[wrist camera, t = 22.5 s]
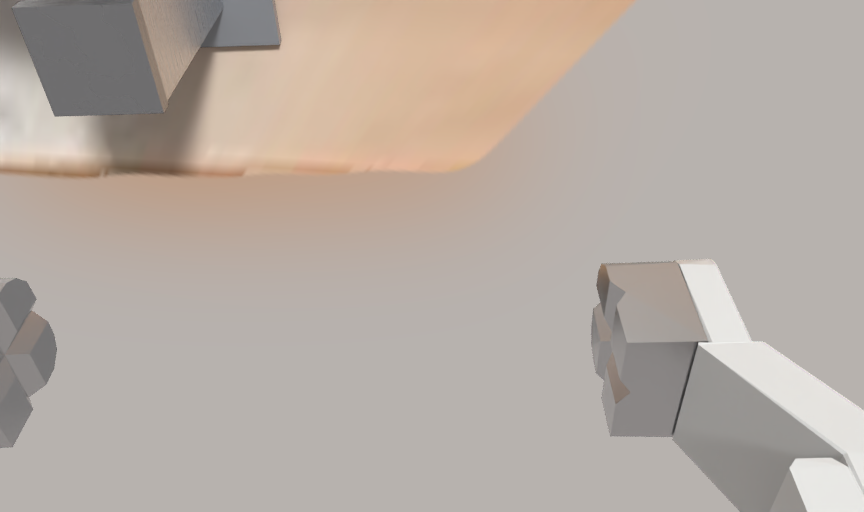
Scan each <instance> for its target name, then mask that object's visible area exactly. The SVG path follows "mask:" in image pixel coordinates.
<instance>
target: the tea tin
mask: <svg viewBox="0 0 864 512" xmlns="http://www.w3.org/2000/svg"><path fill="white" fill-rule="evenodd" d="M223 8H224V6H223V2H222V0H26V1H19V2H18V3H17V4H15V5H14V6H13V7H12V10H13V13H14V15H15V18H16V20H17V23H18V25H19V28H20V30H21V33H22V35H23V38H24V40H25V43H26V45H27V48H28V50H29V53H30V55H31V58H32V60H33V63H34V66H35V68H36V71H37V73H38V76H39V78H40V81H41V83H42V86H43V88H44V91H45V93H46V96H47V98H48V101H49V103H50V106H51V108H52V111H53V113H54V116H87V115H120V114H154V113H164V112H165V111H166V109H167V107H168V105H169V104H168V99H169V98H170V96H171V94H172V93H173V91H174V89H175V88H176V86H177V84H178V83H179V81H180V79H181V78H182V76H183V74H184V73H185V71H186V69H187V68H188V66H189V64H190V63H191V61H192V59H193V58H194V56H195V54H196V53H197V51H198V49H199V48H200V46H201V44H202V43H203V41H204V39H205V38H206V36H207V34H208V33H209V31H210V29H211V28H212V26H213V24H214V23H215V21H216V19H217V18H218V16H219V14H220V13H221V11H222V9H223Z"/></svg>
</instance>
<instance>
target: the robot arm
mask: <svg viewBox="0 0 864 512" xmlns="http://www.w3.org/2000/svg"><path fill="white" fill-rule="evenodd" d="M597 290H598V294H599V298H600V303H599V304H598V305H597V306H596V307H595V308H594V309H593V316H592V329H591V335H592V336H591V337H592V338H591V339H592V340H591V344H592V353H593V360H594V365H595V370H596V373H597V374H598V375H599V376H600V377H601V378H602V379H603V380H604V385H603V392H602V402H603V406H604V411H605V415H606V420H607V424H608V428H609V433H610V436H646V437H653V436H654V437H673V441H674V442H675V443H676V444H677V445H678V446H679V447H680V448H681V449H682V450H683V451H684V452H685V454H686V455H687V456H688V457H689V458H690V459H691V460H692V461H693V462H694V463H695V464H696V465H697V466H698V467H699V468H700V469H701V470H702V472H703V473H704V474H705V475H706V476H707V477H708V478H709V479H710V480H711V481H712V482H713V483H714V484H715V485H716V487H717V488H718V489H719V490H720V491H721V492H722V493H723V494H724V495H725V496H726V497H727V498H728V499H729V500H730V501H731V503H733V505H734V506H735V507H736V508H737V509H738V510H739V511H740V512H864V410H862V409H861V408H860V407H858V406H857V405H855V404H854V403H852V402H851V401H849V400H848V399H846V398H845V397H844V396H842V395H841V394H839V393H838V392H836V391H835V390H833V389H832V388H830V387H829V386H828V385H826V384H825V383H823V382H822V381H820V380H819V379H817V378H816V377H814V376H813V375H811V374H810V373H809V372H807V371H806V370H804V369H803V368H801V367H800V366H798V365H797V364H795V363H794V362H792V361H791V360H789V359H788V358H787V357H785V356H784V355H782V354H781V353H779V352H778V351H776V350H775V349H773V348H772V347H771V346H769V345H768V344H766V343H765V342H752V340H751V338H750V336H749V333H748V331H747V329H746V327H745V325H744V322H743V320H742V318H741V316H740V314H739V312H738V310H737V307H736V305H735V303H734V301H733V299H732V297H731V294H730V292H729V290H728V288H727V286H726V284H725V282H724V280H723V277H722V275H721V273H720V271H719V269H718V267H717V264H716V263H715V262H714V261H713V260H711V259H696V260H675V261H673V262H671V261H668V262H637V263H604V264H601V266H600V269H599V272H598V278H597ZM35 301H36V297H35V295H34V294H33V292H32V290H31V288H30V287H29V285H28V283H27V282H26V281H23V280H20V279H17V278H0V448H3V447H13V445H14V444H15V442H16V440H17V438H18V436H19V434H20V432H21V430H22V428H23V427H24V425H25V423H26V421H27V419H28V418H29V416H30V414H31V412H32V410H33V408H32V405H31V402H30V399H29V397H30V396H31V395H33V394H34V393H35V392H37V391H38V390H39V389H41V388H42V387H44V386H45V385H46V384H47V382H48V380H49V378H50V376H51V373H52V372H53V370H54V366H55V358H56V352H57V347H56V342H55V337H54V333H53V331H52V329H51V327H50V325H49V323H48V321H46V320H45V319H43V318H42V317H41V316H39V315H38V314H36V313H35V312H33V311H32V308H33V306H34V304H35Z"/></svg>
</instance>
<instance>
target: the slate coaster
mask: <svg viewBox="0 0 864 512" xmlns="http://www.w3.org/2000/svg"><path fill="white" fill-rule="evenodd" d="M222 2H223V6H224V8H223V9H222V11H221V13H220V14H219V16H218V18H217V19H216V21H215V23H214V24H213V26H212V28H211V29H210V31H209V33H208V34H207V36H206V38H205V39H204V41H203V43H202V44H201V46H200V47H224V46H254V45H280V43H281V36H280V30H279V24H278V18H277V13H276V7H275V1H274V0H222Z"/></svg>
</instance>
